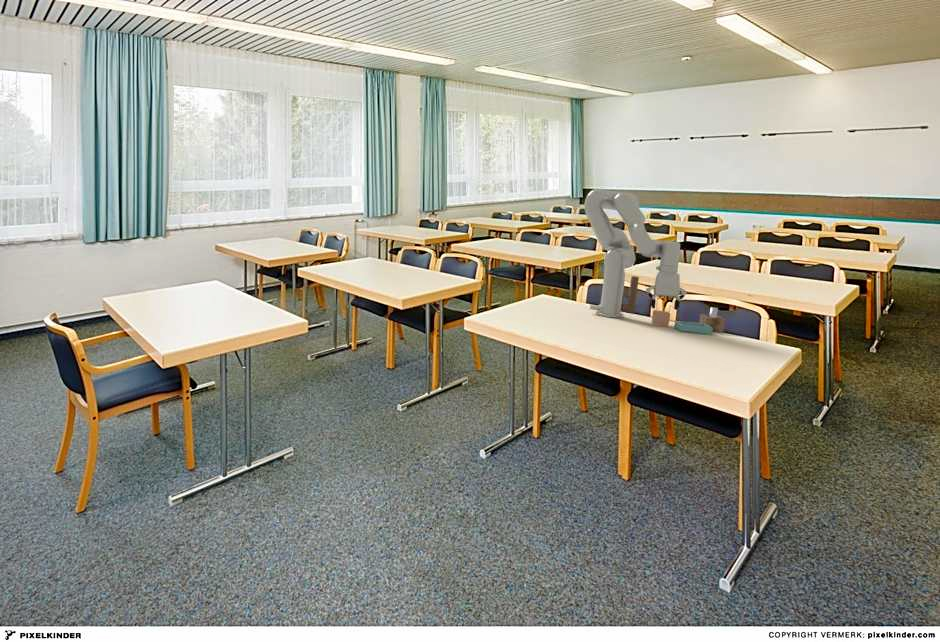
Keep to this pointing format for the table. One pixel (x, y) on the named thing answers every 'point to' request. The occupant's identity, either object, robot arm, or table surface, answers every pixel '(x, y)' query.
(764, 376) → the table surface
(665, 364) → the table surface
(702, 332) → the tray
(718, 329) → the brown block
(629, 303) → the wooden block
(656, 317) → the block
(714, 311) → the pin gauge
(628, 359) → the table surface
